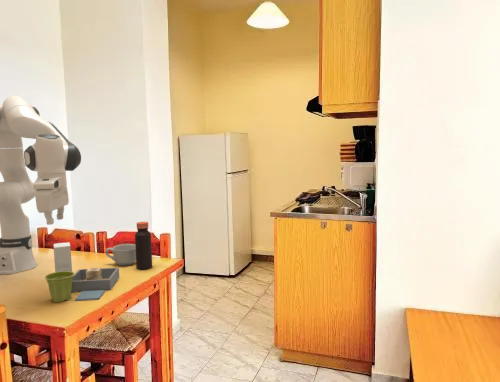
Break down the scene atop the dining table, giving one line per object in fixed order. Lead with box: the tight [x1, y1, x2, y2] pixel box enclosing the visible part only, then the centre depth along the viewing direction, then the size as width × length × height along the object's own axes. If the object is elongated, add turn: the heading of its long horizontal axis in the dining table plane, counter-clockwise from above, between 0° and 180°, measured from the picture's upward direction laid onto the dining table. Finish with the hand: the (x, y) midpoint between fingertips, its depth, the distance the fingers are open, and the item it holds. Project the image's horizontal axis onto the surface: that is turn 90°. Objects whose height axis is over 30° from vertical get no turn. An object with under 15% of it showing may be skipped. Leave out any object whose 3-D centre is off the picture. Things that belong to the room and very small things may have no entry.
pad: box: [74, 290, 105, 302], centre depth 149 cm, size 8×8×1 cm
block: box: [85, 267, 103, 280], centre depth 162 cm, size 4×4×6 cm
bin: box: [71, 267, 120, 293], centre depth 162 cm, size 16×16×4 cm
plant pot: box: [44, 271, 75, 303], centre depth 147 cm, size 9×9×9 cm
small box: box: [53, 241, 73, 273], centre depth 174 cm, size 8×6×13 cm
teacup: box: [104, 243, 136, 267], centre depth 190 cm, size 14×11×8 cm
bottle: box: [134, 221, 153, 271], centre depth 182 cm, size 7×7×20 cm
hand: (55, 221), depth 145 cm, fingers open, 8 cm apart
